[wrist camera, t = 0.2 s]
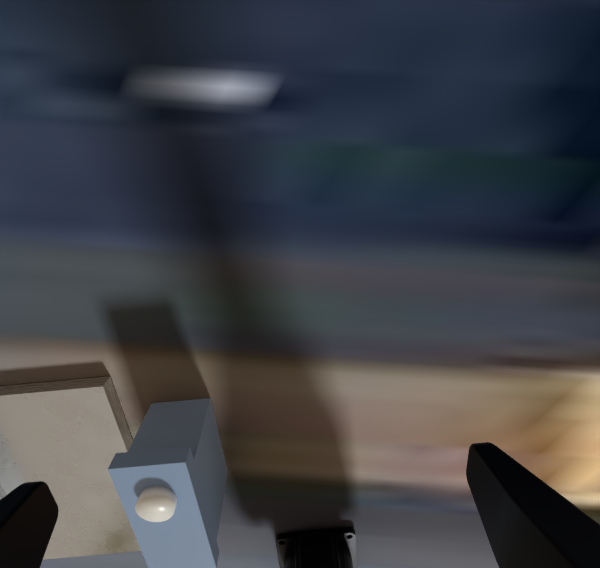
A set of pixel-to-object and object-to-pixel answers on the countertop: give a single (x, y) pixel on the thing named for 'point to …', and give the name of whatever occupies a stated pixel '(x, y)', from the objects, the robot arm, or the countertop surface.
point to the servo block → (174, 484)
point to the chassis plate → (69, 459)
